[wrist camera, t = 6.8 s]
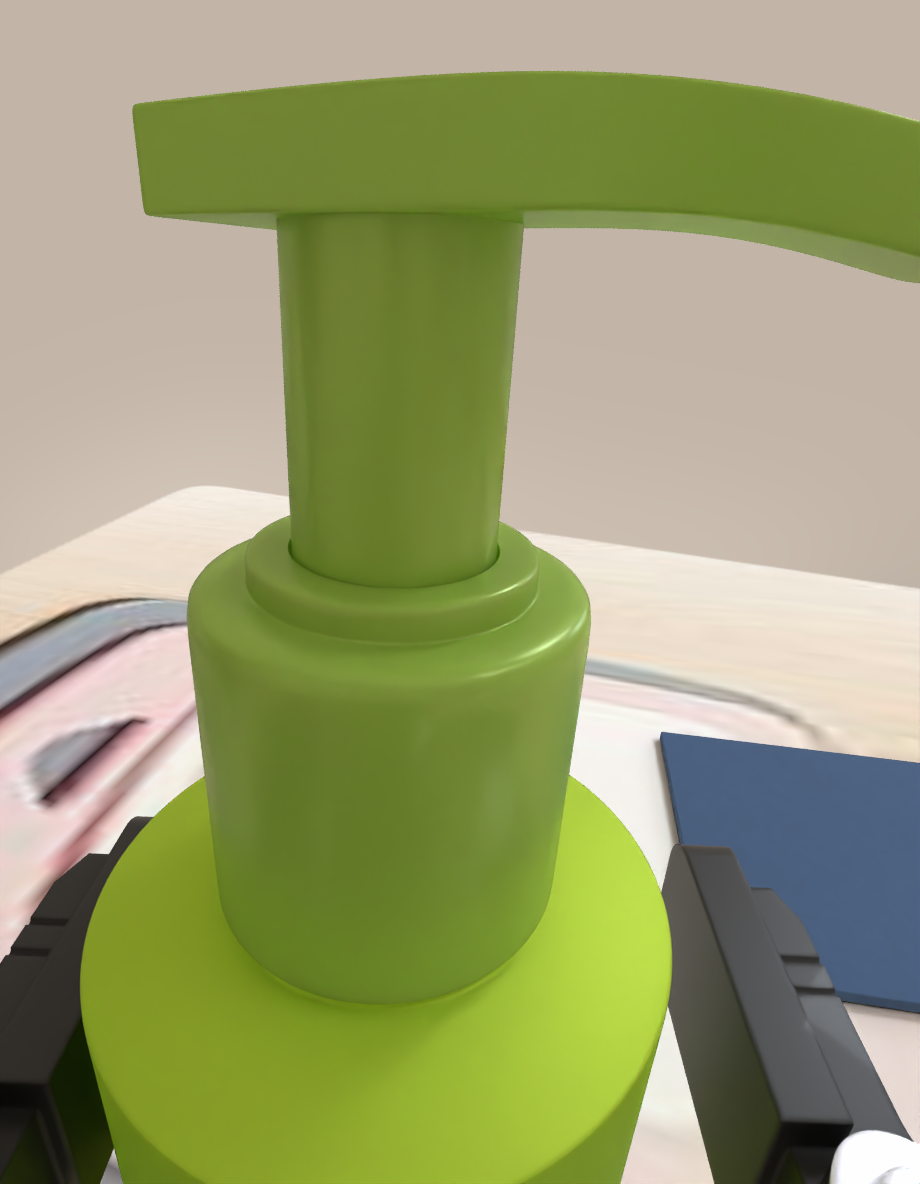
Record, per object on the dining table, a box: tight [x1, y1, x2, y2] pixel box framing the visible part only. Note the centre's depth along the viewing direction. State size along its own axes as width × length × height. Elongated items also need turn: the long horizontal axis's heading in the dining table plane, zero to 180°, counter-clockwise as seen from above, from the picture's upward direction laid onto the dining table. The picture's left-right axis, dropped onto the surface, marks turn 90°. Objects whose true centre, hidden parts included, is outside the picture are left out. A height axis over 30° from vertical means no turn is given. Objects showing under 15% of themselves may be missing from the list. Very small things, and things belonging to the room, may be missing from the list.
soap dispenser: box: [80, 71, 920, 1184], centre depth 9 cm, size 6×7×20 cm
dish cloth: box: [660, 732, 920, 1013], centre depth 26 cm, size 14×12×1 cm
